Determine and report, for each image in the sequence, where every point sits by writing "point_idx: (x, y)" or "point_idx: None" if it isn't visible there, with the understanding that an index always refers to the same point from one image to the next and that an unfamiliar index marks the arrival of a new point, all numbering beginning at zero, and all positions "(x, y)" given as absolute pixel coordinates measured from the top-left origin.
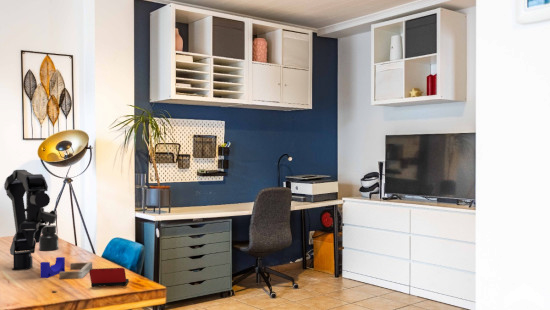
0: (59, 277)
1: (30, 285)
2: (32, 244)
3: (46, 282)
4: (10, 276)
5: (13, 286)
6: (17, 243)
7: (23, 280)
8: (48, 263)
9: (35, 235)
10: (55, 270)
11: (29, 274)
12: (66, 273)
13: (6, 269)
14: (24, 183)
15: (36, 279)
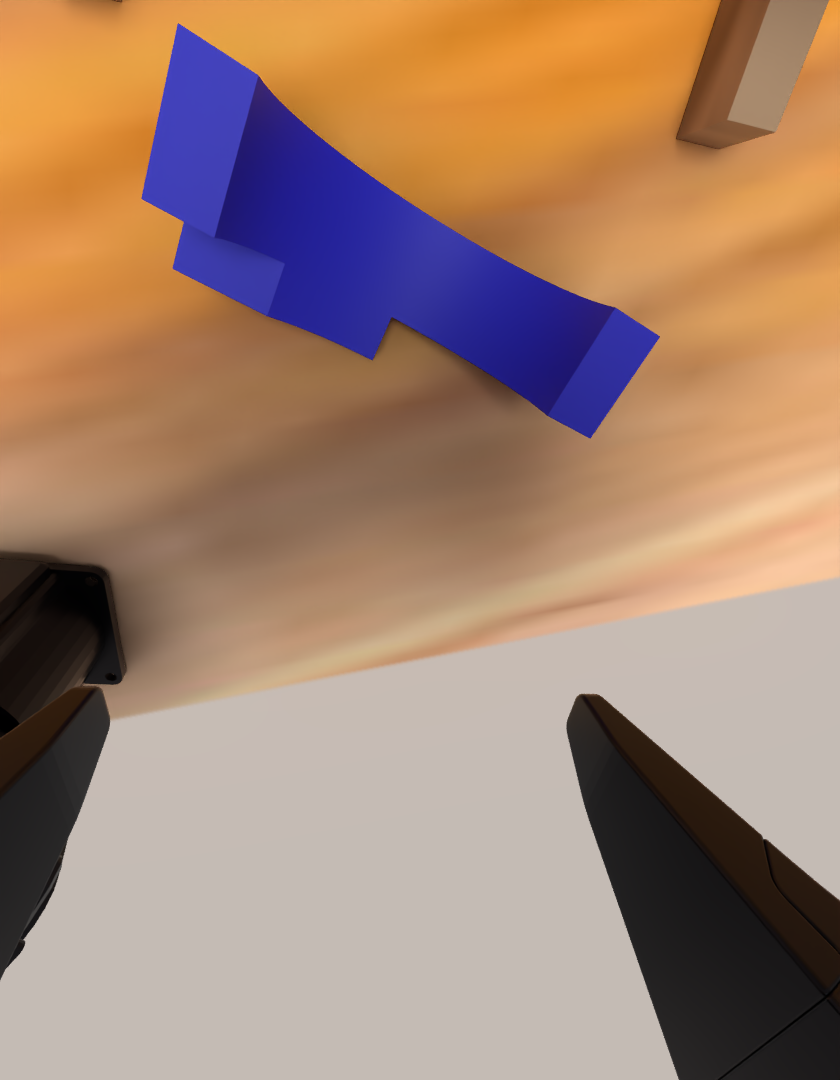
0: (731, 143)
1: (827, 427)
2: (623, 720)
3: (800, 294)
4: (388, 633)
5: (772, 544)
6: (33, 911)
7: (591, 516)
8: (632, 320)
9: (6, 914)
10: (392, 236)
11: (344, 514)
12: (817, 4)
13: None
14: None
15: None
